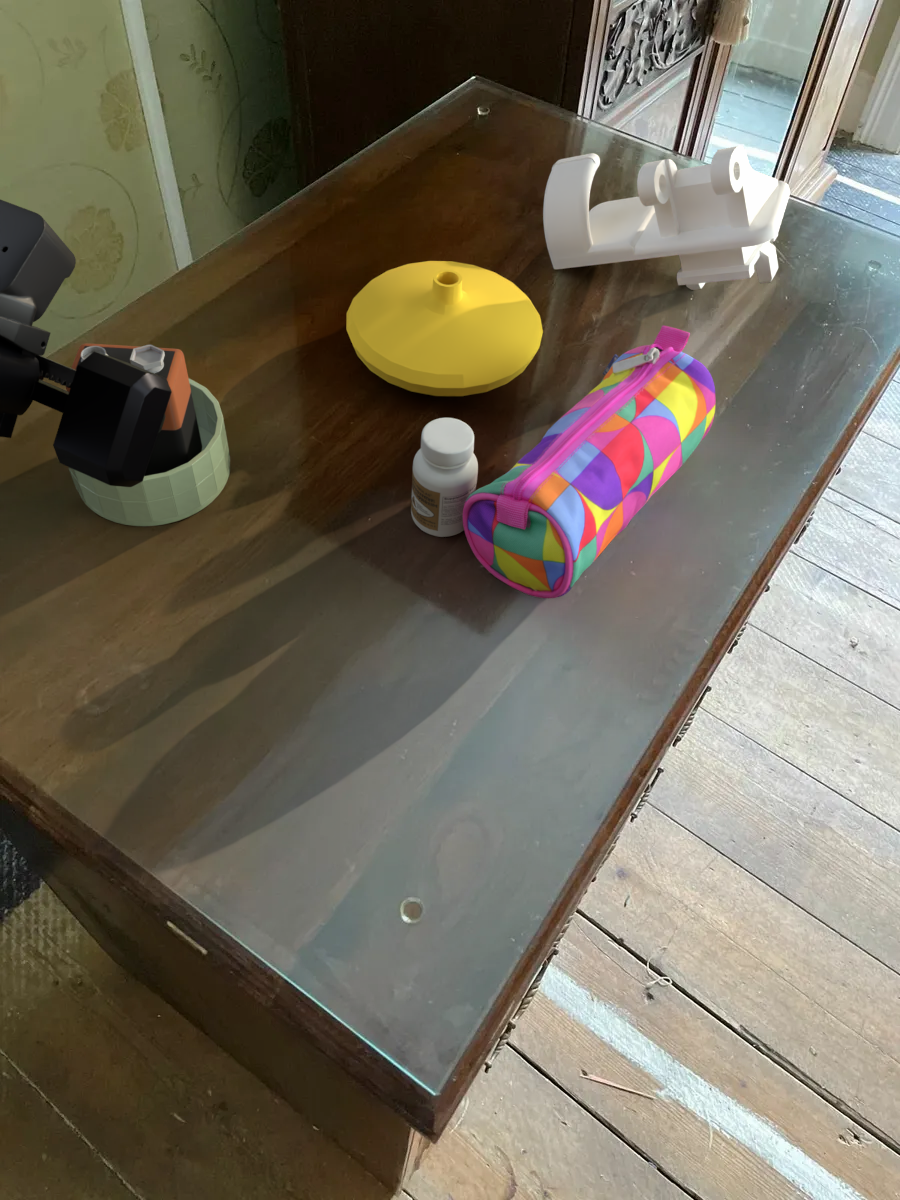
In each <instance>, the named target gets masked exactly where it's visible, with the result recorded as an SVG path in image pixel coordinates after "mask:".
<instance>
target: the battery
mask: <svg viewBox="0 0 900 1200" xmlns="http://www.w3.org/2000/svg"><path fill="white" fill-rule="evenodd" d="M94 351H95V352H98V353H101V354H105V355H108V356H111V357H113V358H116V359H119V360H122V361H125V362H127V363H130V364H132V365H135V366H137V367H140V368H142V369H144V370H147V371H149V372H152V373H154V374H157V375H159V376H162V377H164V378H166V379H167V381H168V384H169V386H170V389H171V391H172V393H171V396H170V399H169V402H168V405H167V408H166V411H165V416H166V417H165V421H164V424H163V427H162V429H161V431H160V432H159V433H158V436H157V439H156V442H155V445H154V448H153V451H152V454H151V457H150V460H149V463H148V466H147V470H146V473H145V476H149V475H154V474H159V473H164V472H167V471H170V470H172V469H174V468H176V467H179V466H181V465H183V464H185V463H188V462H189V461H190V460H192V459H193V458H194V457H195V456H197V455H198V454H199V453H200V452H201V451H202V442H201V437H200V432H199V428H198V423H197V418H196V413H195V408H194V403H193V398H192V393H191V388H190V383H189V379H190V377H189V374H188V370H187V363H186V359H185V354H184V352H183V351H182V349H179V348H170V347H169V348H168V347H157V346H155V345H153V344H151V343H150V344H146V345H143V346H137V345H121V344H107V343H106V344H105V343H104V344H103V343H82V344H80V346H79V347H78V350H77V352H76V354H75V357H74V359H73V362H72V365H71V367H70V368H72V369H74V370H76V369H77V366H78V364H80V363H81V362H82V361H83V360H84V359H86V358H87V357H88V356H89V355H90V354H92V353H93V352H94ZM64 387H65V390H66V391H68V392H70V388H67V387H66V386H64Z"/></svg>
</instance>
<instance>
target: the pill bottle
mask: <svg viewBox="0 0 900 1200" xmlns="http://www.w3.org/2000/svg"><path fill="white" fill-rule="evenodd" d="M474 433H475V432H474V431H473V429H472V428H471V426H470V425H469V424H467V423H466V422H464V421H462V420H461V419H458V418H454V417H439V418H436V419H433V420H431V421H429V422H428V423H426V424H425V426H424V427H423V428H422V431H421V436H420V448H419V449H418V450H417V451H416V453H415V455H414V457H413V461H412V474H411V478H412V479H411V480H412V481H411V501H410V502H411V503H410V513H411V518H412V521H413V523H414V524H415V525H416V526H417V527H418V529H420V530H421V532H422V531H423V532H424V533H426V534H428V535H431V536H434V537H440V538H444V537H445V538H446V537H452V536H456V535H459V534H460V533H462V532H464V527H463V509H464V504H465V501H466V500H467V498H468V496H469V495H470V494H472V493H473V492H475V491H476V490H477V483H478V474H479V462H478V458H477V456H476V455H475V453H474V450H475V434H474Z"/></svg>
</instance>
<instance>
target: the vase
mask: <svg viewBox="0 0 900 1200" xmlns="http://www.w3.org/2000/svg"><path fill="white" fill-rule="evenodd" d="M346 332H347V334H348V337H349V339H350V342H351V343H352V347H353V349H354V351H355V354H356V356H357V357H358V359H360V361H361V362H362V363H363V364H364V365H365V366H366V368H367V369H368V370H369V371H370V372H371V373H373V374H375V375H376V376H378V377H379V378H380V379H382V380H384V381H385V382H387V383H389V384H391V385H394V386H395V387H399V388H402V389H404V390H406V391H409V392H413V393H417V394H423V395H429V396H433V397H464V396H465V397H466V396H470V395H478V394H483V393H487V392H491V391H492V390H495V389H497V388H500V387H502V386H505V385H507V384H508V383H510V382H512V381H513V380H514V379H516V378H517V377H518V376H519V375H521V374H522V373H524V371H525V370H526V368H527V367H528V366H529V365H530V363H531V362H532V360H533V359H534V357H535V355H536V354H537V352H538V351H539V349H540V346H541V342H542V338H543V333H544V330H543V324H542V319H541V315H540V313H539V312H538V310H537V308H536V307H535V305H534V304H533V302H532V300H531V299H530V298H529V296H528V295H527V294H526V293H525V292H523V291H522V290H521V289H520V288H519V286H517V285H516V284H515V283H514V282H512V281H511V280H509V279H507V278H506V277H503V276H502V275H500V274H498V273H497V272H494V271H492V270H490V269H486V268H483V267H481V266H478V265H475V264H470V263H465V262H458V261H453V260H452V261H451V260H450V261H449V260H427V261H420V262H412V263H406V264H403V265H400V266H398V267H395V268H391V269H388V270H385V272H383V273H382V274H380V275H377V276H376V277H374V278H372V279H371V280H370V281H369V282H368V283H367V284H366V285H365V286H363V288H362V289H361V290H359V292H358V293H357V294H355V296H354V297H353V298H352V300H351V303H350V305H349V307H348V310H347V311H346Z"/></svg>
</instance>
